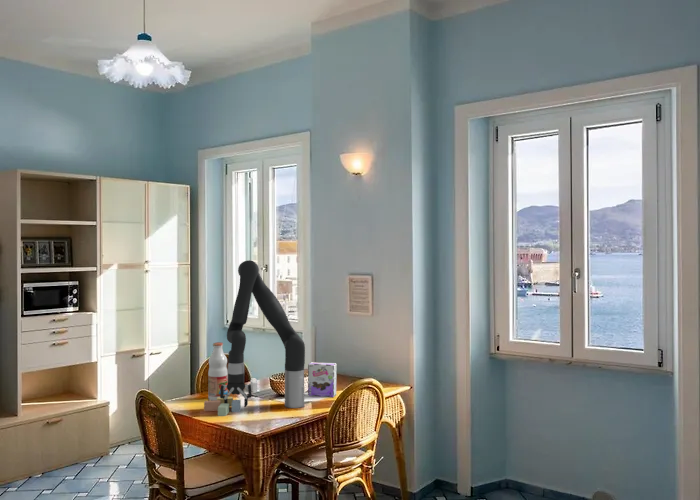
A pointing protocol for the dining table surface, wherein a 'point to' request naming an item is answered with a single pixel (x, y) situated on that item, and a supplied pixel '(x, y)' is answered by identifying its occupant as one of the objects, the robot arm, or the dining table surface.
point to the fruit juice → (217, 372)
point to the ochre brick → (228, 400)
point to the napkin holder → (253, 384)
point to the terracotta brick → (212, 405)
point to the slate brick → (236, 405)
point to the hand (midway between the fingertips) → (235, 407)
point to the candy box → (322, 379)
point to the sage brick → (223, 409)
